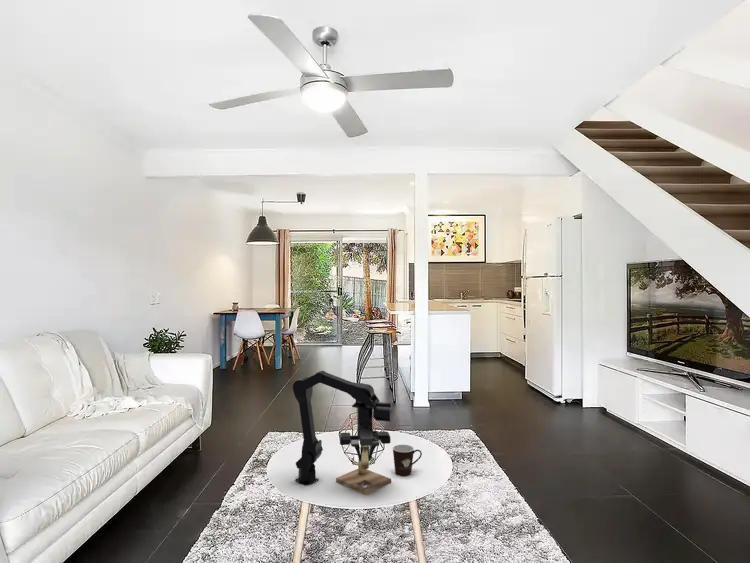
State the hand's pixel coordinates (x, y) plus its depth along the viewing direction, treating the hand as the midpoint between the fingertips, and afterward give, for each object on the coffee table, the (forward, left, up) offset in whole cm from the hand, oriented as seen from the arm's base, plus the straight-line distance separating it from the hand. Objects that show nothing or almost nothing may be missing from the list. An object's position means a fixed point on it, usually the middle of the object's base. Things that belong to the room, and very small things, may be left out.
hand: (364, 460), depth 173 cm
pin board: (-3, +3, -10) cm, 11 cm away
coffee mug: (+4, +21, -10) cm, 24 cm away
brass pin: (0, 0, -3) cm, 2 cm away
